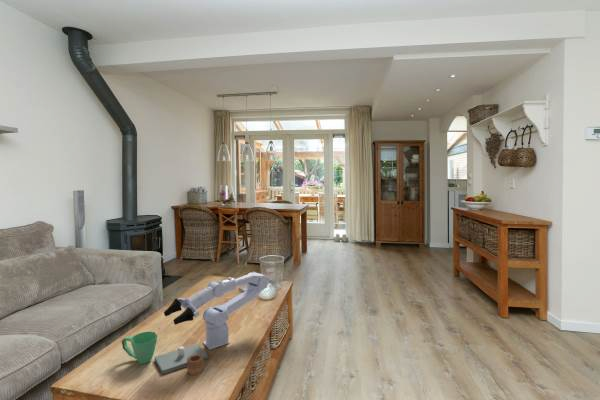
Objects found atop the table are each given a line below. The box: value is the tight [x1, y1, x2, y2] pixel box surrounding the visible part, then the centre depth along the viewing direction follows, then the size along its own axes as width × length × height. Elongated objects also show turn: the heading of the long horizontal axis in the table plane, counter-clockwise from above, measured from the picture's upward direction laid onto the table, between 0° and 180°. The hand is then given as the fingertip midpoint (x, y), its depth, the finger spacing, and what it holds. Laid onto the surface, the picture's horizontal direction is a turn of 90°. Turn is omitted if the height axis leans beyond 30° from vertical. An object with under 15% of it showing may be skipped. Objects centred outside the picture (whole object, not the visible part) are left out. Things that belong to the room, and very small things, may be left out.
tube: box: [186, 354, 204, 376], centre depth 126 cm, size 6×6×5 cm
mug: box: [121, 331, 158, 365], centre depth 133 cm, size 15×10×10 cm
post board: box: [154, 343, 209, 375], centre depth 134 cm, size 18×12×5 cm, turn 127°
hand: (169, 318), depth 130 cm, fingers open, 7 cm apart
